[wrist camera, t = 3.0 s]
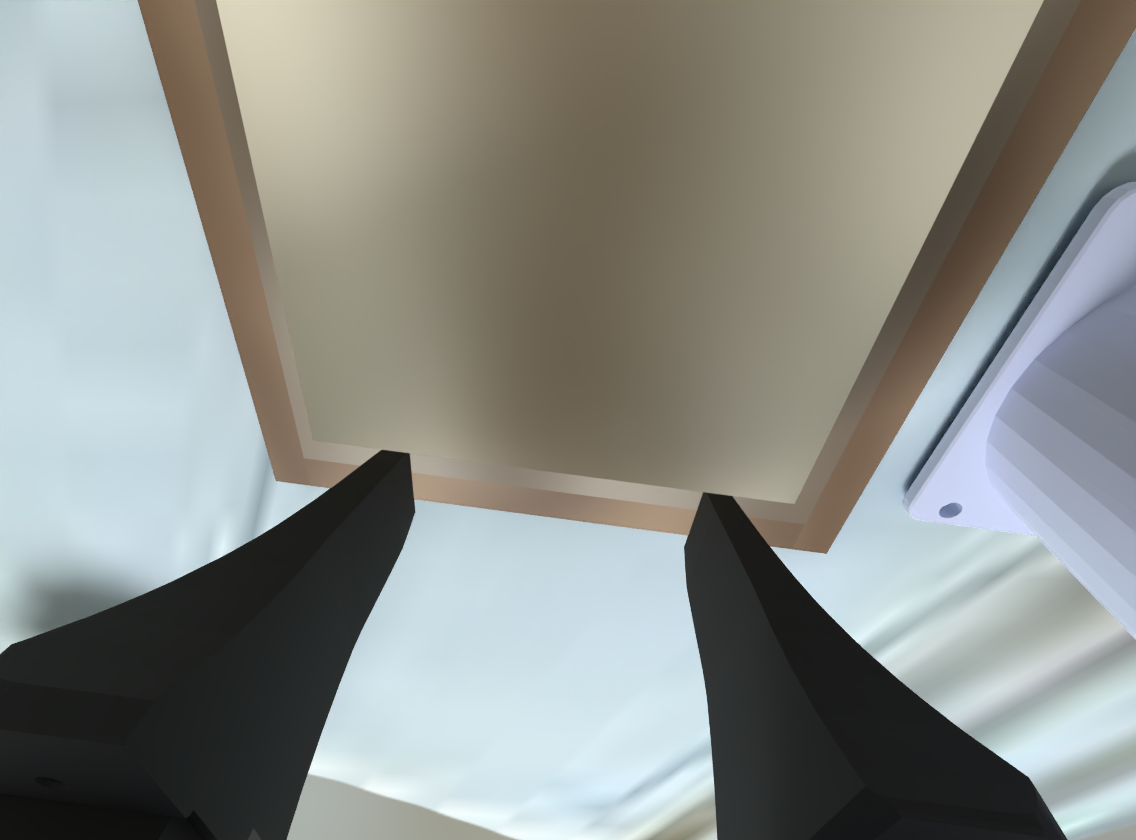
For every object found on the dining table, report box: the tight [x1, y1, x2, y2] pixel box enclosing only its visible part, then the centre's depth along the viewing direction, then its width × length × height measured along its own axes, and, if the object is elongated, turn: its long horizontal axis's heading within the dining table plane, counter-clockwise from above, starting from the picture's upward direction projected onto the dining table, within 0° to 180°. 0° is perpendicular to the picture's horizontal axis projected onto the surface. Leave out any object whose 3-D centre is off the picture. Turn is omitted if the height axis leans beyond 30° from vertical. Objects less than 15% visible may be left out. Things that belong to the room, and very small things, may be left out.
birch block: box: [216, 0, 1044, 504], centre depth 8 cm, size 8×8×4 cm
